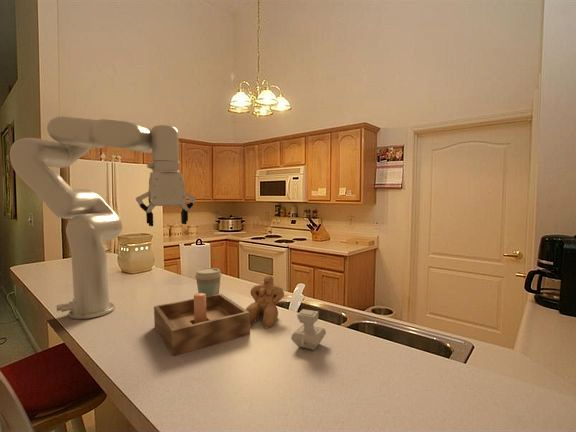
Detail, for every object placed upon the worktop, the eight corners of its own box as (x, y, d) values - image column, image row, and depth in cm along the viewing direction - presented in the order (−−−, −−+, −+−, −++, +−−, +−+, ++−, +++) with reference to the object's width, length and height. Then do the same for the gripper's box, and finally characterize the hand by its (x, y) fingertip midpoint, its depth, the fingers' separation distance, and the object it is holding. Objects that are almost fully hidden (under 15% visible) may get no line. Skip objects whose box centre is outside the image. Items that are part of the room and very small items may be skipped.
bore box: (173, 355, 74) (172, 330, 74) (154, 326, 91) (153, 306, 90) (250, 334, 85) (249, 312, 85) (221, 312, 102) (220, 293, 102)
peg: (197, 334, 86) (195, 297, 85) (193, 330, 89) (192, 294, 88) (208, 331, 88) (207, 295, 87) (204, 327, 90) (203, 292, 90)
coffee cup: (215, 310, 103) (214, 274, 102) (191, 309, 105) (190, 273, 104) (226, 302, 111) (225, 268, 111) (203, 300, 113) (202, 267, 112)
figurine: (239, 325, 92) (243, 272, 95) (253, 323, 100) (257, 275, 104) (273, 328, 88) (277, 273, 92) (285, 326, 96) (288, 276, 100)
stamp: (315, 357, 73) (315, 321, 73) (289, 351, 76) (288, 316, 76) (327, 340, 81) (327, 308, 81) (303, 335, 84) (303, 304, 84)
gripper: (136, 166, 88) (139, 227, 89) (198, 168, 98) (200, 224, 99) (132, 168, 94) (134, 225, 96) (190, 170, 104) (192, 222, 105)
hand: (167, 224), depth 97 cm, fingers open, 9 cm apart
